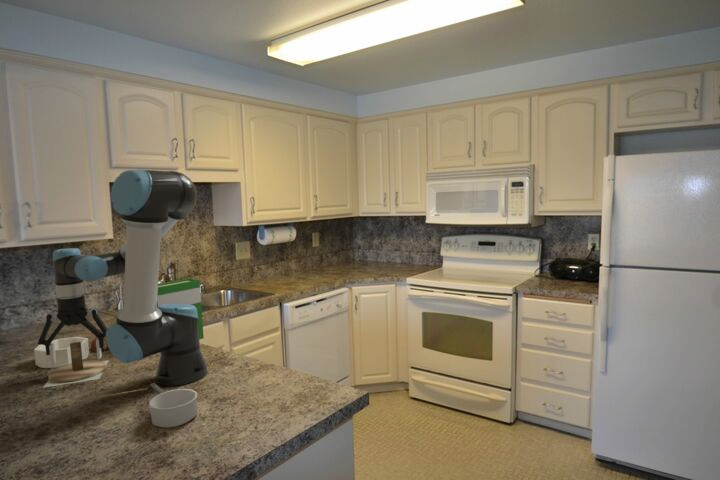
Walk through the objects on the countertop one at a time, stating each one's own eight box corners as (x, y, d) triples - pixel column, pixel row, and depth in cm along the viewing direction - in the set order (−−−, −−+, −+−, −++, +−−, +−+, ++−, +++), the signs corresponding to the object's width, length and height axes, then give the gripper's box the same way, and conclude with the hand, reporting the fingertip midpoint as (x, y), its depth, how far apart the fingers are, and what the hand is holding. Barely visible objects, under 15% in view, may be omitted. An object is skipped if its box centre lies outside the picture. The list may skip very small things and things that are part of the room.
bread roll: (124, 355, 174) (128, 334, 177) (107, 352, 164) (111, 330, 167) (100, 355, 175) (104, 334, 178) (82, 352, 165) (87, 330, 168)
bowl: (83, 365, 154) (81, 346, 154) (31, 372, 149) (29, 353, 148) (92, 351, 168) (90, 335, 168) (45, 358, 163) (43, 340, 162)
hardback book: (161, 350, 167) (156, 287, 164) (151, 347, 171) (146, 285, 169) (203, 338, 180) (199, 279, 178) (193, 335, 185) (189, 278, 183)
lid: (101, 377, 141) (98, 346, 140) (41, 386, 135) (38, 354, 134) (109, 360, 156) (107, 333, 155) (56, 368, 150) (53, 339, 149)
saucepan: (174, 395, 127) (172, 376, 127) (206, 418, 113) (205, 397, 112) (131, 410, 119) (129, 390, 118) (160, 436, 105) (159, 413, 104)
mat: (99, 380, 140) (99, 378, 140) (42, 389, 134) (42, 387, 134) (109, 361, 157) (108, 360, 156) (59, 368, 151) (59, 367, 151)
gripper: (115, 290, 151) (120, 351, 153) (29, 298, 142) (36, 363, 144) (111, 294, 144) (117, 358, 146) (21, 303, 135) (28, 371, 137)
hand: (77, 361), depth 145 cm, fingers open, 12 cm apart
